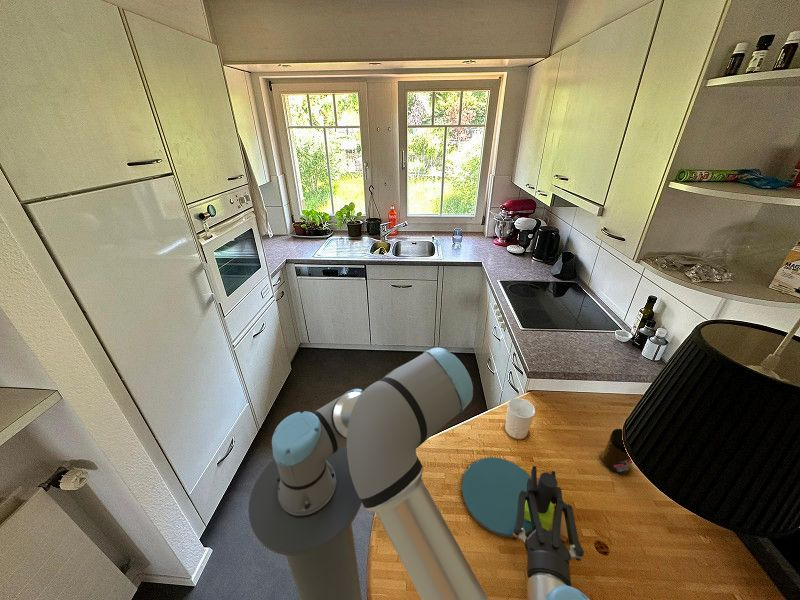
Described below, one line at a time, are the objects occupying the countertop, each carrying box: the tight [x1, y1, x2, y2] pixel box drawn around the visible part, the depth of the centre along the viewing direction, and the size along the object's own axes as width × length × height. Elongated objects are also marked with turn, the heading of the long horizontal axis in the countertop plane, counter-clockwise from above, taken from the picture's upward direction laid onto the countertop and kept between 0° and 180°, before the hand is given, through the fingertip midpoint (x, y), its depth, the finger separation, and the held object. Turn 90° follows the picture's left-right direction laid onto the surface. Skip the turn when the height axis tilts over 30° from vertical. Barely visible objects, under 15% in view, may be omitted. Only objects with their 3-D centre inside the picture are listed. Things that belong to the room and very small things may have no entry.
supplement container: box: [601, 428, 633, 474], centre depth 90 cm, size 7×7×10 cm
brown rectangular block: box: [549, 509, 568, 543], centre depth 77 cm, size 4×5×2 cm
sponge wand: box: [524, 471, 558, 531], centre depth 76 cm, size 6×6×13 cm
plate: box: [461, 457, 532, 538], centre depth 84 cm, size 20×20×1 cm
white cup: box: [504, 397, 536, 440], centre depth 100 cm, size 8×8×10 cm
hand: (542, 472), depth 80 cm, fingers closed on sponge wand, 4 cm apart
